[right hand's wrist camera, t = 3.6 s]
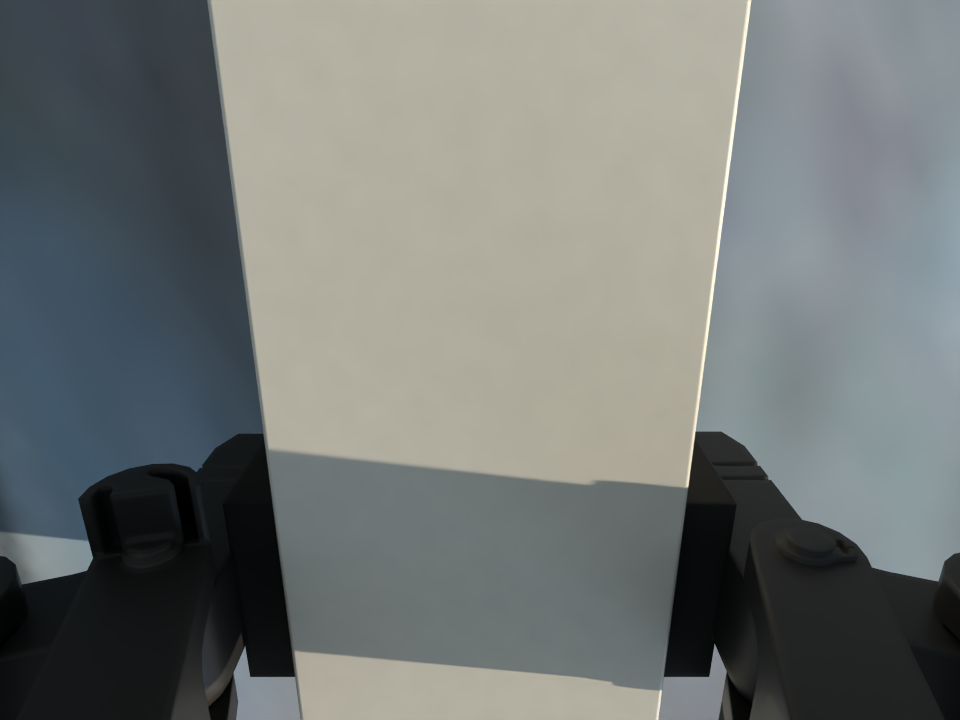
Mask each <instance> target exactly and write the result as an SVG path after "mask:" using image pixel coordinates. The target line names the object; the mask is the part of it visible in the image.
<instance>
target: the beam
mask: <svg viewBox="0 0 960 720" xmlns="http://www.w3.org/2000/svg"><path fill="white" fill-rule="evenodd" d="M207 3H208V10H209V18H210V26H211V33H212V41H213V49H214V56H215V64H216V72H217V79H218V87H219V95H220V103H221V110H222V118H223V126H224V133H225V141H226V149H227V156H228V164H229V172H230V179H231V187H232V195H233V202H234V210H235V218H236V226H237V233H238V241H239V249H240V256H241V264H242V272H243V279H244V287H245V295H246V302H247V310H248V318H249V326H250V333H251V341H252V349H253V356H254V364H255V372H256V379H257V387H258V395H259V402H260V410H261V418H262V426H263V433H264V441H265V449H266V456H267V464H268V472H269V479H270V487H271V495H272V502H273V510H274V518H275V526H276V533H277V541H278V549H279V556H280V564H281V572H282V579H283V587H284V595H285V602H286V610H287V618H288V626H289V633H290V641H291V649H292V656H293V664H294V672H295V679H296V687H297V695H298V702H299V710H300V718H301V720H658V717H659V710H660V702H661V694H662V686H663V679H664V671H665V663H666V655H667V648H668V640H669V632H670V624H671V617H672V609H673V601H674V594H675V586H676V578H677V570H678V563H679V555H680V547H681V539H682V532H683V524H684V516H685V508H686V501H687V493H688V485H689V477H690V470H691V462H692V454H693V447H694V439H695V431H696V423H697V416H698V408H699V400H700V392H701V385H702V377H703V369H704V361H705V354H706V346H707V338H708V330H709V323H710V315H711V307H712V300H713V292H714V284H715V276H716V269H717V261H718V253H719V245H720V238H721V230H722V222H723V214H724V207H725V199H726V191H727V183H728V176H729V168H730V160H731V153H732V145H733V137H734V129H735V122H736V114H737V106H738V98H739V91H740V83H741V75H742V67H743V60H744V52H745V44H746V36H747V29H748V21H749V13H750V5H751V0H207Z"/></svg>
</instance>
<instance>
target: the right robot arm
mask: <svg viewBox="0 0 960 720" xmlns="http://www.w3.org/2000/svg"><path fill="white" fill-rule="evenodd" d="M78 500H79V504H80V508H81V512H82V516H83V519H84V523H85V527H86V531H87V535H88V539H89V543H90V547H91V551H92V555H93V560H92V562H91V564H90V566H89V568H88V570H87V571H84V572H81V573H77V574H73V575H68V576H63V577H58V578H53V579H48V580H43V581H38V582H33V583H28V584H23V585H22V584H21V581H20V577H19V574H18V571H17V568H16V564H14V563H13V562H12V561H10V560H9V559H8V558H6V557H3V556H0V720H236V715H237V706H238V699H237V692H236V685H235V679H234V674H233V673H234V670H235V668H236V666H237V663H238V661H239V659H240V656H241V654H242V652H243V650H244V647H246V653H247V659H248V665H249V671H250V677H295V672H294V664H293V656H292V649H291V641H290V633H289V626H288V618H287V610H286V602H285V595H284V587H283V579H282V572H281V564H280V556H279V549H278V541H277V533H276V526H275V518H274V510H273V502H272V495H271V487H270V479H269V472H268V464H267V456H266V449H265V441H264V434H238V435H236V436H234V437H233V438H231V439H230V440H228V441H226V442H225V443H223V444H222V445H220V446H218V447H217V448H215V450H214V451H213V452H212V453H211V455H210V456H209V457H208V459H207V460H206V461H205V462H204V464H203V467H202V468H200V469H199V470H198V471H197V473H196V472H195V471H194V470H192V469H191V468H190V467H186V466H181V465H177V464H151V465H145V466H140V467H135V468H130V469H127V470H124V471H121V472H119V473H116V474H113V475H110V476H108V477H106V478H104V479H102V480H101V481H99V482H97V483H96V484H94V485H92V486H90V487H89V488H88V489H87V490H86V491H85V492H84V493H83V495H82V496H81V497H80V498H79V499H78ZM714 643H715V645H716V647H717V650H718V652H719V654H720V657H721V659H722V661H723V663H724V666H725V668H726V670H727V674H726V679H725V685H724V691H723V697H722V703H721V708H720V714H719V720H960V553H957V554H954V555H952V556H951V557H950V558H948V559H947V560H946V561H945V562H944V565H943V569H942V572H941V575H940V578H939V582H937V581H932V580H927V579H922V578H917V577H912V576H907V575H902V574H897V573H891V572H887V571H883V570H879V569H875V568H872V567H871V565H870V563H869V561H868V559H867V557H866V556H865V554H864V553H863V552H862V551H861V549H860V548H859V547H858V546H857V544H855V543H854V542H853V541H851V540H850V539H848V538H847V537H845V536H844V535H842V534H841V533H839V532H837V531H835V530H832V529H830V528H828V527H825V526H823V525H820V524H818V523H813V522H809V521H804V520H802V519H801V518H800V517H799V515H798V514H797V513H796V511H795V510H794V509H793V508H792V506H791V505H790V504H789V503H788V501H787V500H786V499H785V497H784V496H783V495H782V494H781V492H780V491H779V490H778V488H777V487H776V486H775V485H774V483H773V482H772V481H771V480H768V476H767V474H766V473H765V472H764V471H763V469H762V468H761V467H760V466H757V462H756V460H755V459H754V458H753V456H752V455H751V454H750V453H749V451H748V450H747V449H746V447H745V446H744V445H742V444H740V443H739V442H737V441H735V440H734V439H732V438H731V437H729V436H727V435H726V434H724V433H722V432H695V439H694V447H693V454H692V462H691V470H690V477H689V485H688V493H687V501H686V508H685V516H684V524H683V532H682V539H681V547H680V555H679V563H678V570H677V578H676V586H675V594H674V601H673V609H672V617H671V624H670V632H669V640H668V648H667V655H666V663H665V671H664V677H709V674H710V668H711V662H712V656H713V649H714Z"/></svg>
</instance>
